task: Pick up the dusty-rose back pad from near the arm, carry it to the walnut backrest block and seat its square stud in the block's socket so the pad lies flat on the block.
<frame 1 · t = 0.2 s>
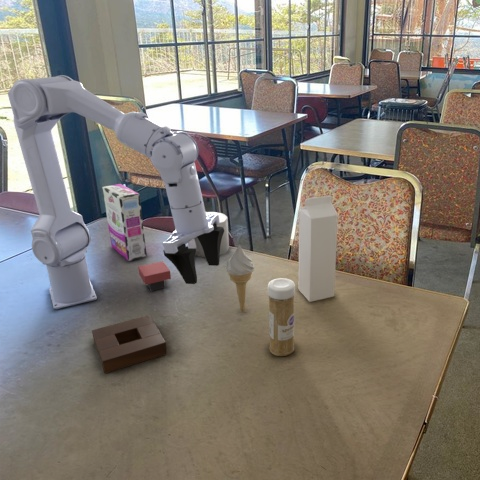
hand: (203, 273, 89), 11 cm above the table, tool pointing down, fingers open, 7 cm apart
backrest block: (129, 347, 85), on the table
toilet tissue: (206, 251, 123), on the table
milk: (316, 293, 105), on the table
candy bar box: (129, 252, 121), on the table
sprinkles bottle: (281, 350, 86), on the table
ice cream cone: (242, 312, 97), on the table
back pad: (156, 286, 105), on the table
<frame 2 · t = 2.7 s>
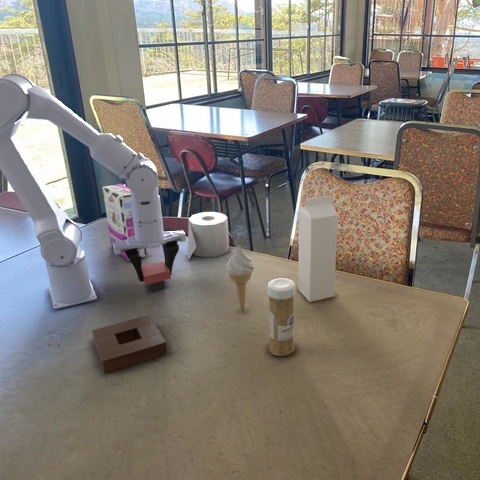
hand: (154, 276, 104), 2 cm above the table, tool pointing down, fingers closed on back pad, 5 cm apart
back pad: (156, 286, 105), on the table, touching gripper
everything else where it was.
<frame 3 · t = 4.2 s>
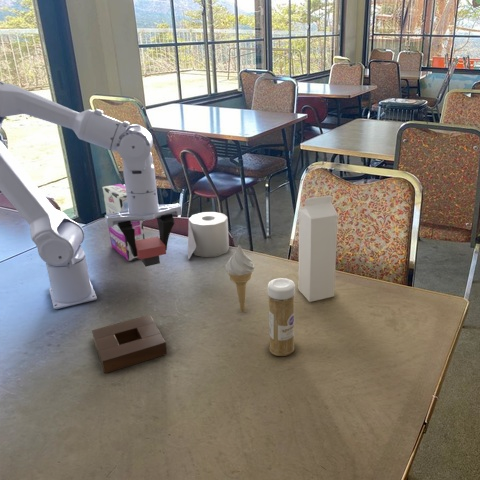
hand: (149, 251, 100), 9 cm above the table, tool pointing down, fingers closed on back pad, 5 cm apart
back pad: (150, 262, 101), point 7 cm above the table, touching gripper
everything else where it was.
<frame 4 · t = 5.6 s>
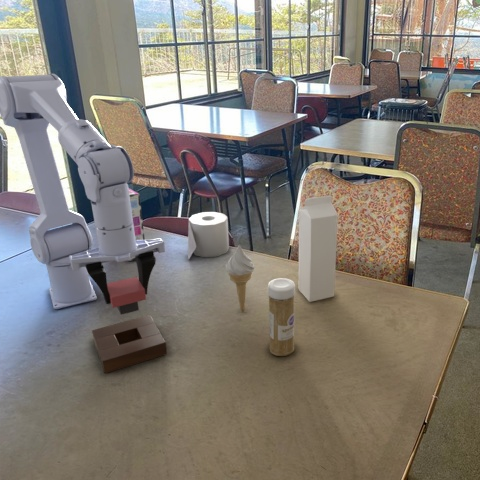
hand: (125, 296, 83), 9 cm above the table, tool pointing down, fingers closed on back pad, 5 cm apart
back pad: (127, 308, 84), point 7 cm above the table, touching gripper
everything else where it was.
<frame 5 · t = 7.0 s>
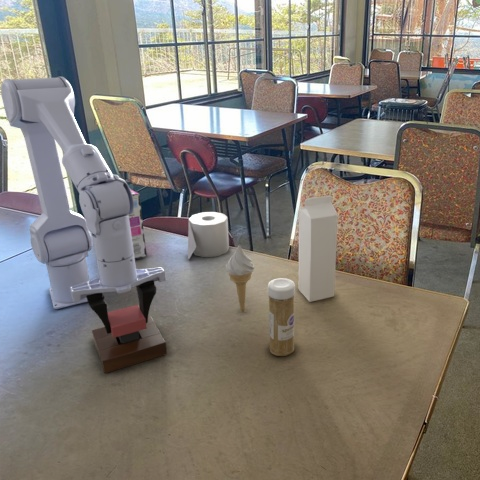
hand: (126, 325, 83), 5 cm above the table, tool pointing down, fingers closed on back pad, 5 cm apart
back pad: (128, 337, 84), point 2 cm above the table, touching gripper
everything else where it was.
when the fingers open (2 cm above the table, at t = 8.5 s): back pad stays where it is, resting on backrest block.
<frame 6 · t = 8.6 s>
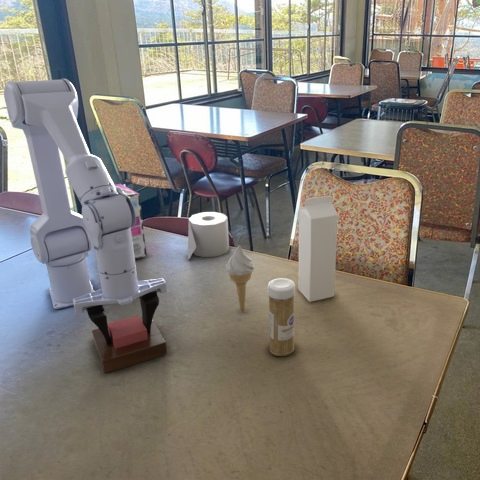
hand: (128, 336, 84), 2 cm above the table, tool pointing down, fingers open, 6 cm apart
back pad: (130, 347, 85), resting on backrest block
everything else where it was.
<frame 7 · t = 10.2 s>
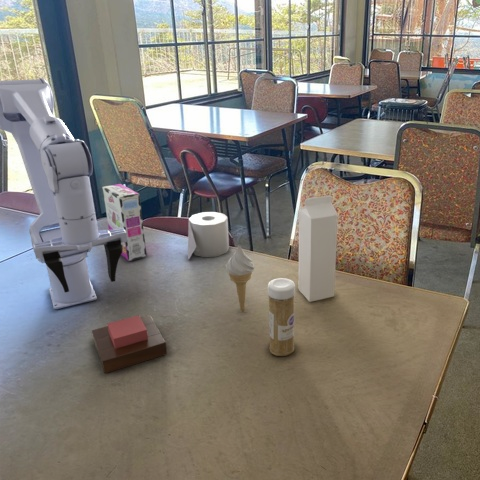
hand: (89, 284, 87), 9 cm above the table, tool pointing down, fingers open, 7 cm apart
nothing on the table moved.
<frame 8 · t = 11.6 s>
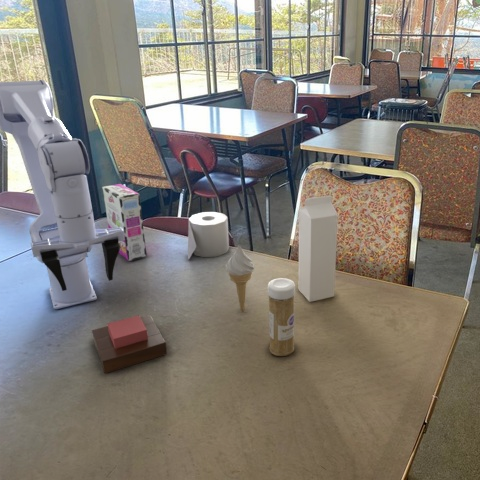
hand: (87, 283, 87), 9 cm above the table, tool pointing down, fingers open, 7 cm apart
nothing on the table moved.
at the end: back pad 0.0 cm off-centre in the backrest block, point 0.1 cm above the backrest block's base; back pad tilted 0°; the gripper is holding nothing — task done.
